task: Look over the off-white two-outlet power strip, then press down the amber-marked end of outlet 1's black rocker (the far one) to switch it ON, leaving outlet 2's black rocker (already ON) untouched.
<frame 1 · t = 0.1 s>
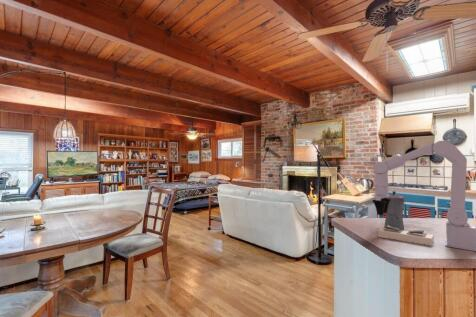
hand: (382, 213, 117), 10 cm above the worktop, tool pointing down, fingers open, 7 cm apart
rocker 2: (416, 231, 106), point 4 cm above the worktop, hinge at 10.0°
moka pot: (393, 228, 128), on the worktop
power strip: (404, 239, 109), on the worktop
rocker 1: (392, 228, 112), point 4 cm above the worktop, hinge at -10.0°
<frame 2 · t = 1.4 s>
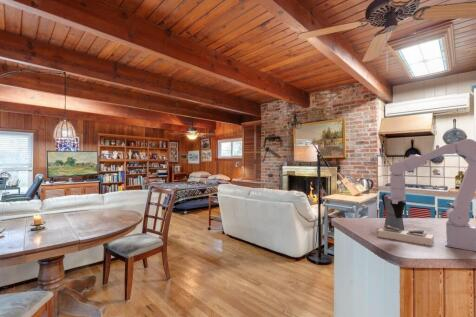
hand: (398, 217, 110), 9 cm above the worktop, tool pointing down, fingers closed
nothing on the worktop moved.
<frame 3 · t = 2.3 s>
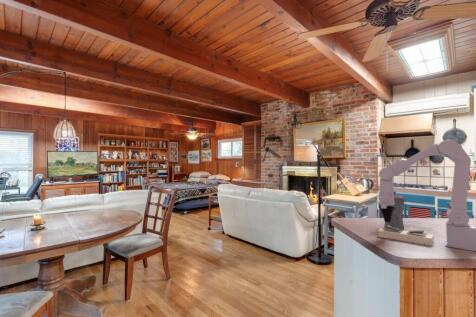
hand: (387, 221, 113), 7 cm above the worktop, tool pointing down, fingers closed
nothing on the worktop moved.
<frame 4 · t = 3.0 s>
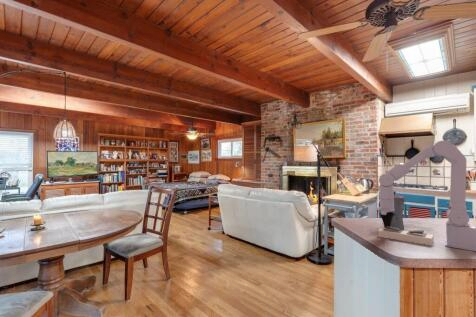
hand: (387, 227, 113), 4 cm above the worktop, tool pointing down, fingers closed, pressing on rocker 1
rocker 1: (392, 228, 112), point 4 cm above the worktop, hinge at -8.7°, touching gripper
everything else where it was.
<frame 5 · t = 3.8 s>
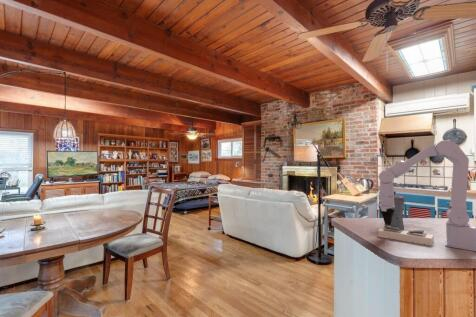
hand: (387, 224, 113), 6 cm above the worktop, tool pointing down, fingers closed
rocker 1: (392, 228, 112), point 4 cm above the worktop, hinge at -2.7°
everything else where it was.
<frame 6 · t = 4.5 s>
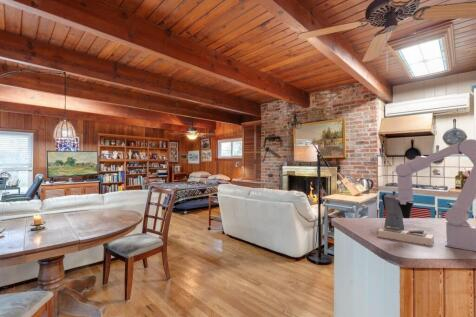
hand: (406, 218, 113), 9 cm above the worktop, tool pointing down, fingers closed
rocker 1: (392, 228, 112), point 4 cm above the worktop, hinge at 1.7°
everything else where it was.
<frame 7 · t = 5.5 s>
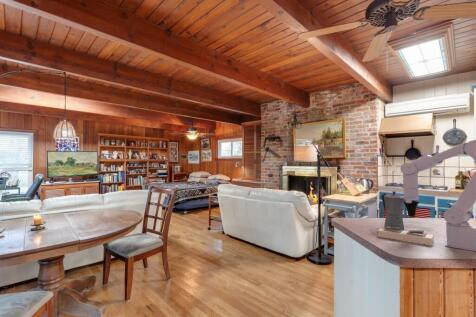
hand: (411, 216, 113), 9 cm above the worktop, tool pointing down, fingers closed
rocker 1: (392, 228, 112), point 4 cm above the worktop, hinge at 6.7°
everything else where it was.
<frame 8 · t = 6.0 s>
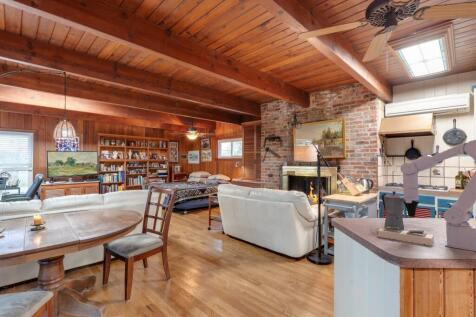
hand: (411, 216, 113), 9 cm above the worktop, tool pointing down, fingers closed
rocker 1: (392, 228, 112), point 4 cm above the worktop, hinge at 8.8°
everything else where it was.
at the end: rocker 1 at +10° (first picture: -10°); rocker 2 at +10° (first picture: +10°) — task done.
